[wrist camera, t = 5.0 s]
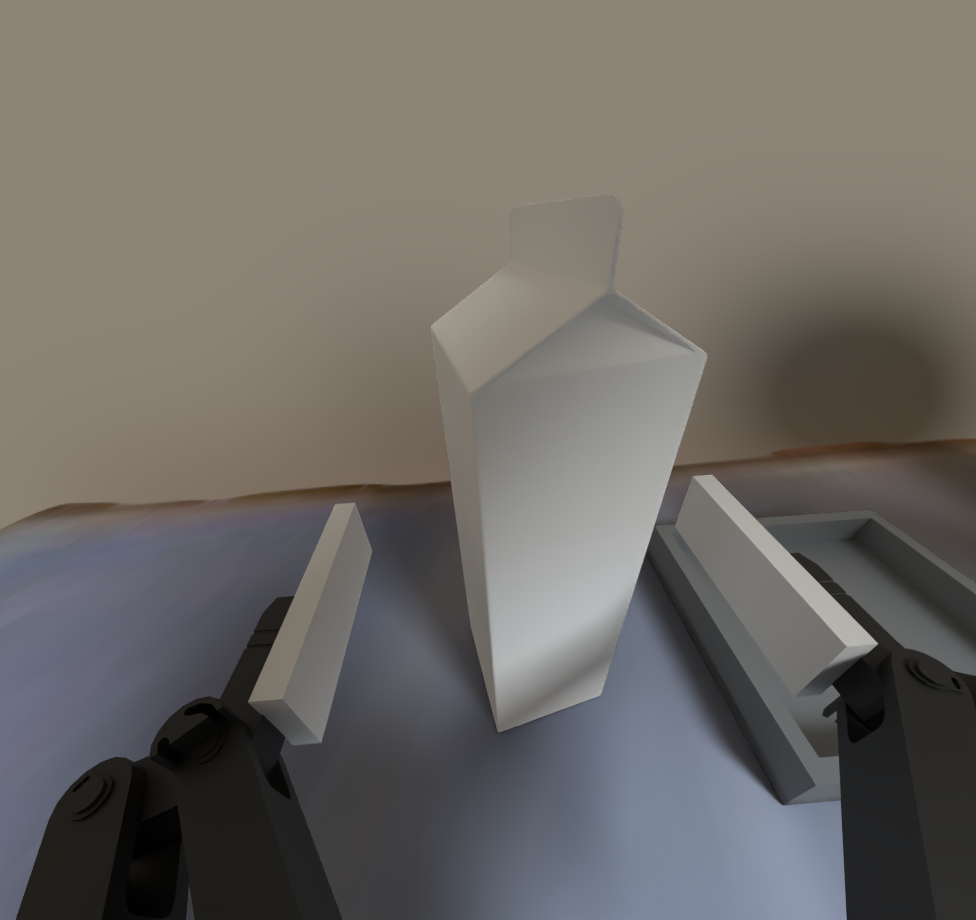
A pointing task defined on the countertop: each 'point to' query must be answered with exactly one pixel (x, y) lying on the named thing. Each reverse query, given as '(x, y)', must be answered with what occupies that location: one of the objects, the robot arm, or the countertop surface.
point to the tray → (864, 576)
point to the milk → (557, 451)
